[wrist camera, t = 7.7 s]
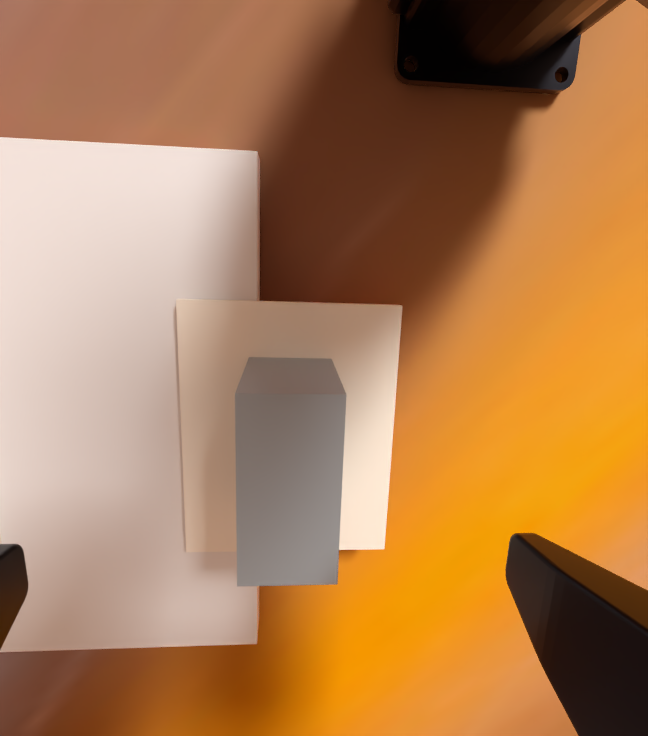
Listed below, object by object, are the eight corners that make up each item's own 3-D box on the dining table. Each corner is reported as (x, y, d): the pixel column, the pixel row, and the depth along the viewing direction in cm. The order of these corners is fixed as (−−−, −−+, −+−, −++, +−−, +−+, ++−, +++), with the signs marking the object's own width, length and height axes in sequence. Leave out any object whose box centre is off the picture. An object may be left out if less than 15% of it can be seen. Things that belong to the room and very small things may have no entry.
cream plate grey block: (399, 304, 17) (442, 323, 12) (382, 543, 19) (413, 636, 15) (178, 298, 16) (133, 316, 12) (188, 546, 19) (154, 645, 14)
